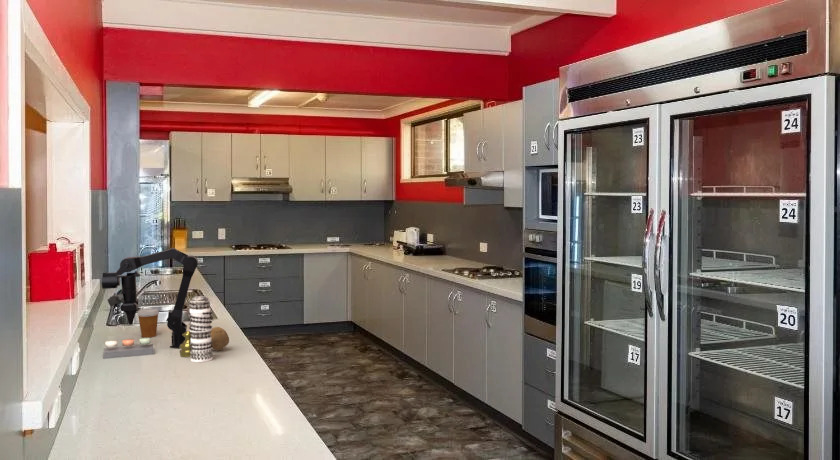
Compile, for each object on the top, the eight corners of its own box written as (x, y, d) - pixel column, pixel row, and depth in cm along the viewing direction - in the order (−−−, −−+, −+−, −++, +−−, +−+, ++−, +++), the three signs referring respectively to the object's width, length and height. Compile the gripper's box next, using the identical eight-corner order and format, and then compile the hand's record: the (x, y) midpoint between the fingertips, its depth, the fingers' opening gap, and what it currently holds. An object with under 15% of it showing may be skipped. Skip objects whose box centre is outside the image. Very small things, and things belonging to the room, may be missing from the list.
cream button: (117, 344, 314) (117, 339, 314) (117, 346, 310) (116, 342, 310) (105, 345, 313) (105, 340, 313) (105, 347, 309) (105, 343, 308)
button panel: (153, 349, 321) (152, 344, 321) (153, 354, 313) (153, 348, 313) (104, 354, 315) (103, 348, 315) (103, 358, 306) (103, 352, 306)
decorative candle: (212, 355, 308) (210, 294, 307) (215, 360, 300) (212, 297, 298) (188, 358, 305) (186, 296, 303) (190, 363, 296) (188, 299, 295)
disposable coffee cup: (145, 339, 344) (144, 312, 343) (133, 336, 350) (132, 310, 349) (164, 335, 351) (163, 309, 351) (152, 333, 357) (151, 307, 356)
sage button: (150, 341, 319) (150, 337, 319) (150, 344, 315) (150, 339, 315) (139, 342, 317) (139, 338, 317) (139, 344, 313) (139, 340, 313)
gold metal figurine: (193, 357, 306) (192, 333, 305) (176, 357, 308) (175, 332, 307) (202, 353, 313) (201, 329, 313) (185, 353, 315) (184, 329, 314)
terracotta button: (134, 343, 317) (133, 338, 316) (134, 345, 312) (133, 340, 312) (122, 344, 315) (122, 339, 315) (122, 346, 311) (122, 341, 311)
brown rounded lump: (201, 351, 316) (200, 328, 316) (216, 347, 324) (215, 324, 324) (218, 353, 312) (217, 329, 311) (233, 349, 320) (232, 325, 319)
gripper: (110, 285, 327) (111, 322, 328) (106, 291, 309) (108, 330, 310) (137, 284, 330) (139, 320, 331) (135, 290, 312) (137, 327, 313)
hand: (130, 324), depth 321 cm, fingers closed
